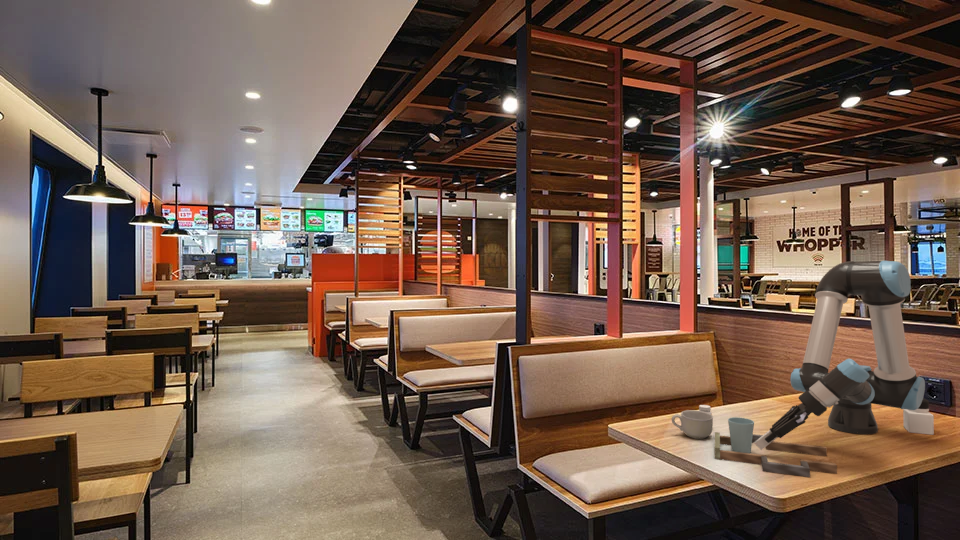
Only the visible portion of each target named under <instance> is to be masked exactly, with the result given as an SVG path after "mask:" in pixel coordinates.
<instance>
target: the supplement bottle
mask: <svg viewBox="0 0 960 540" xmlns="http://www.w3.org/2000/svg"><path fill="white" fill-rule="evenodd" d="M698 409H699V410H698V411H703V412H706V413H709V414H711V415H712V416H713V414H712V413H713V412H712V411H711V409H712V408H711V406H710V405H707V404H700V405H699V406H698Z"/></svg>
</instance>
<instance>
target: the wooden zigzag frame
mask: <svg viewBox="0 0 960 540" xmlns="http://www.w3.org/2000/svg"><path fill="white" fill-rule="evenodd" d="M763 435H764V434H754V433H753V437H752V444H755V443H754V442H755V441H756V440H758V439H759V438H760V437H761V436H763ZM724 444H727V445H726V446H731V439H730V435H727V436H726V435H721V434H720V432H718V431H716V432H714V459H715V458H717V459H716V460H722V459H724V460H723V461H730V462H737V463H739V462H740V463H746V464H754V465H755V464H756V465H760V466H761V469H762V472H765V473H766V472H767V473H773V474H782V475H790V476H798V477H805V478H811V472H817V473H818V472H819V473H826V474H827V473H828V474H835V475H837V474H838V465H837V463H834V462H825V461H818V460H808V459H800V461H799V462H800V463H799V465H796V464H791V463H788V464H787V463H782V462H781V463H780V462H773V461H768V457H767V455H764V454H758V453H752V452H751V453H742V452H734V451H732V450H723V449H721V445H724ZM765 450H769V451H776V452H777V451H778V452H785V453H786V452H787V453H794V454H795V453H796V454H805V455H811V456H820V457H821V456H822V457H827V456H828V452H827V450H828V448H827V447H826V446H821V445H811V444H804V443H803V444H802V443H801V444H800V443H791V442H783V441H782V442H781V441H776V440H774V441H773V442H771V443H770V444H769V445H767V446H766V447H765Z"/></svg>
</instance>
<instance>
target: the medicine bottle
mask: <svg viewBox="0 0 960 540" xmlns="http://www.w3.org/2000/svg"><path fill="white" fill-rule="evenodd" d="M902 411H903V415H902V416H903V417H902V418H903V421H902V422H903V428H904V429H905V430H906V431H907V432H908V433H909V434H910V433H912V434H923V435H931V436H932V435H935V427H934V424H935V423H934V422H935V420H934V414H932V413H931V412H929V411H930V401H929V400H928V399H926V398H925V397H923V400H922V403H921V405H920V406H919V408H918V409H916V410H907V409H902Z"/></svg>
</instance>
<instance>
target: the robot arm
mask: <svg viewBox="0 0 960 540" xmlns="http://www.w3.org/2000/svg"><path fill="white" fill-rule="evenodd" d="M911 283H912V282H911V277H910V273H909V271H908V269H907V267H906V266H905V265H904V263H902V262H900V261H897V260H894V261H892V260H891V261H890V260H886V259H885V260H871V261H869V260H868V261H866V260H865V261H844V262H841V263H839V264H836V265H834V266H833V267H832V268H831V269H829V270H828V271H827V272H826V273H825V274H824V275H823V276H822V278H821V279H820V280H819V283H818V284H817V287H816V291H815V294H814V297H815V299H817V300H816V305H815V307H814V313H813V317H812V321H811V326H810V329H809V330H810V331H809V335H808V339H807V343H806V348H805V352H804V357H803V360H802V365H801V367H799V368H794V369H792V372H791V373H790V377H789V378H790V380H789V382H790V386H791V387H792V389H793V390H795V391H797V392H802V393H801V394H800V395H799V396H798V400H799V401H800V402H801V403H800V404H797V405H792V406H791V408H790V409H788V411H786V413H784V414H783V415H782V416H781V417H780V418H778V420H776V421H775V422H774V423H773V424H772V425H771V428H769V429H768V430H767V432H765V433H764V434H762V435H763V436H761V437H760V438H759V439H758V440H756V441H755V442H754V443H753V444H755V445H756V447H757V448H758V449H759V450H761V451H762V450H764V449H766V446H767V445H769V444H770V443H771V442H773V441H776V440H777V439H778V438H779V439H782V438H783V437H784V436H786V435H788V434H789V433H791V432H792V431H794V430H796V429H797V428H798V427H800V426H802V425H803V424H805V423H806V420H807V419H809V416H810V415H811V414H812V413H813V415H815V416H816V417H820V416H821V415H824V413H825V412H826V411H828V408H831V409H830V410H831V411H830V413H829V415H828V417H827V418H828V419H827V426H828V427H830V428H831V429H833V430H836V431H839V432H842V433H849V434H855V435H873V434H877V433H879V432H878V431H879V430H878V429H879V427H878V426H879V425H878V422H877V421H876V418H875V417H876V416H875V415H874V412H873V410H872V408H873V407H872V404H873V405H878V406H884V407H890V408H895V409H900V410H903V409H907V410H916V409H918V408H919V406H920V405H921V403H922V400H923V398H924V396H925V390H926V380H925V379H924V377H921V376H917V372H916V369H915V368H914V367H912V366H910V362H909V356H908V355H909V354H908V348H907V341H906V335H905V327H904V322H903V316H902V315H903V314H902V307H901V304H902V303H904V301H905V300H906V297H908V296H909V295H910V293H911V288H912V286H911ZM850 296H861V302H862V303H863V305H865V306H868V311H869V318H870V324H871V331H872V336H873V344H874V350H875V356H876V361H877V366H876V367H875V368H874V369H873V370H872V367H871V366H870V365H864V364H863V365H861V364H859V363H857V362H856V361H855V360H854V359H852V358H846V359H844V360H843V361H842V362H840V363H838V364H837V365H836V366H835V367H834V368H833V369H832V370H831V371H829V368H830V364H831V359H832V355H833V351H834V347H835V342H836V338H837V333H838V328H839V324H840V319H841V314H842V310H843V306H844V304H846V303H847V302H848V300H849V297H850Z"/></svg>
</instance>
